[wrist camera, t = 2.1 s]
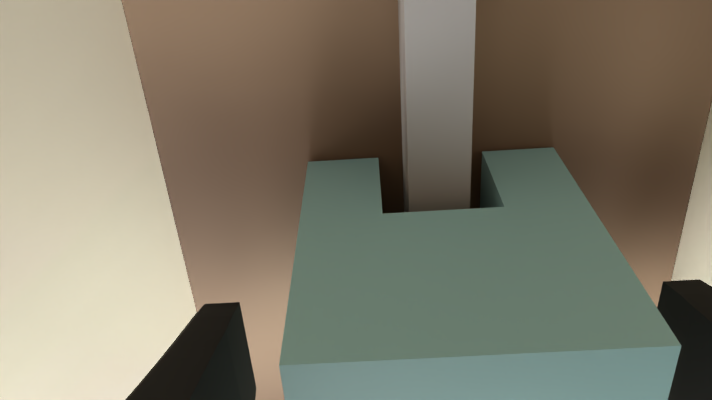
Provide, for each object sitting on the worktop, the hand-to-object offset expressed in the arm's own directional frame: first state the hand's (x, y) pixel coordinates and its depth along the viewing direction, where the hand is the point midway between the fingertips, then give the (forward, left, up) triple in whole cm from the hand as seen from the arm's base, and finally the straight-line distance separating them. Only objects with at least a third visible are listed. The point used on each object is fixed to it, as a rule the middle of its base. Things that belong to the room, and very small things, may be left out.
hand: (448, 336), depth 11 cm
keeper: (0, 0, -2) cm, 2 cm away
